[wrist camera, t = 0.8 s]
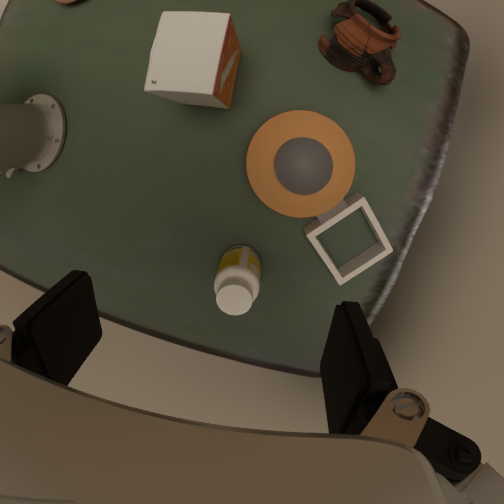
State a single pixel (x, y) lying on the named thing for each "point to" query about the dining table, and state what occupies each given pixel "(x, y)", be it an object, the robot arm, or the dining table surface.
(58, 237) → the dining table surface
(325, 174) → the disc and frame
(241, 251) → the supplement bottle
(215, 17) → the small box
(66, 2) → the fruit slice
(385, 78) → the brown curved piece
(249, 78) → the dining table surface
